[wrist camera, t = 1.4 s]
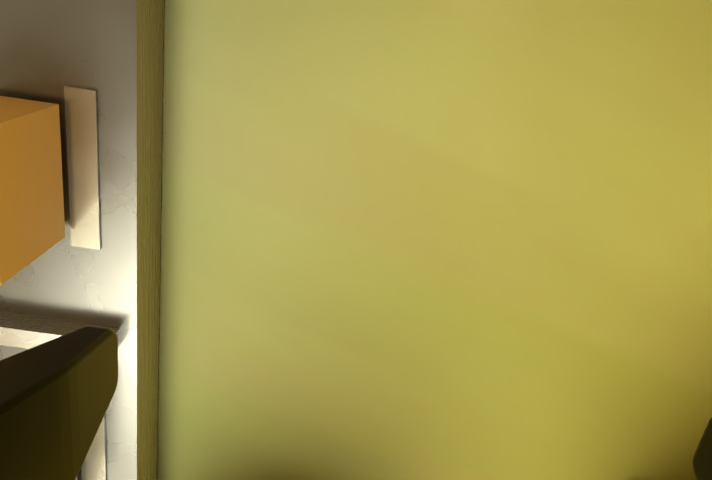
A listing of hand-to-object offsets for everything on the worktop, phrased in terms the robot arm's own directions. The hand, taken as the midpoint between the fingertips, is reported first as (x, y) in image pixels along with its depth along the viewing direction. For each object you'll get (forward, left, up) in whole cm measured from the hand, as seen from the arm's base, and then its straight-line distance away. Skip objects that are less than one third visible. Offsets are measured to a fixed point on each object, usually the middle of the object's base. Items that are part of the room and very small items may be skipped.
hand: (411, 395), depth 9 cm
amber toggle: (+10, 0, -8) cm, 13 cm away
